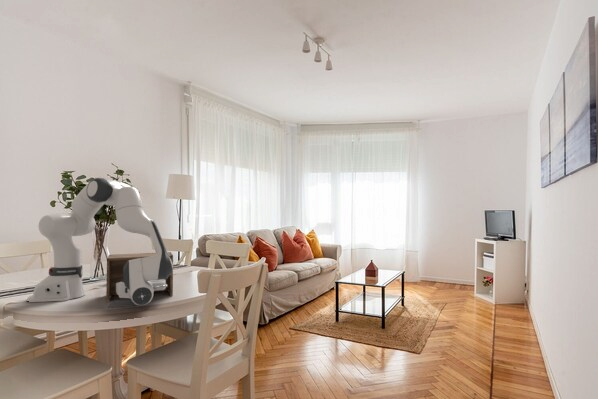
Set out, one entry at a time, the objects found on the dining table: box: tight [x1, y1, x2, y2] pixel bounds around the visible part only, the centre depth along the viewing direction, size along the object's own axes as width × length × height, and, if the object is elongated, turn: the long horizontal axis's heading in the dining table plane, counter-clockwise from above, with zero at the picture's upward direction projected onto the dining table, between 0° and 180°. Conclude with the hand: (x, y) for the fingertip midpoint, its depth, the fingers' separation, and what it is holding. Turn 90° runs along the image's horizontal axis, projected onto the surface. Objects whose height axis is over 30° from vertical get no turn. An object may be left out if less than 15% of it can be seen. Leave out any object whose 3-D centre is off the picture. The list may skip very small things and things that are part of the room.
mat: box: [107, 298, 135, 308], centre depth 165 cm, size 10×10×1 cm
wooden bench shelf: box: [105, 251, 174, 302], centre depth 181 cm, size 15×28×19 cm, turn 113°
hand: (141, 282), depth 172 cm, fingers closed on block, 4 cm apart
